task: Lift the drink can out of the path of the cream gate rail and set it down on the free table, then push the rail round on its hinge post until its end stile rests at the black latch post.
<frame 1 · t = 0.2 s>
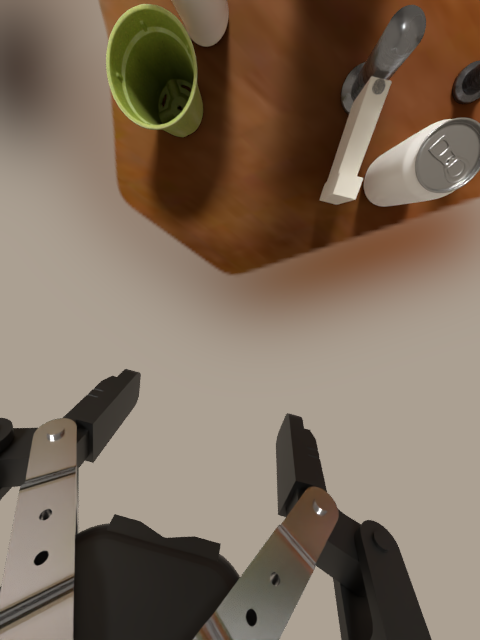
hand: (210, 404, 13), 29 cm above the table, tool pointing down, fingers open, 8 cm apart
plant pot: (180, 110, 32), on the table
gate: (353, 148, 27), point 6 cm above the table, hinge at 0.0°
latch post: (469, 84, 28), on the table
can: (387, 180, 32), on the table
white tapered cup: (207, 20, 28), on the table
hinge post: (362, 92, 29), on the table
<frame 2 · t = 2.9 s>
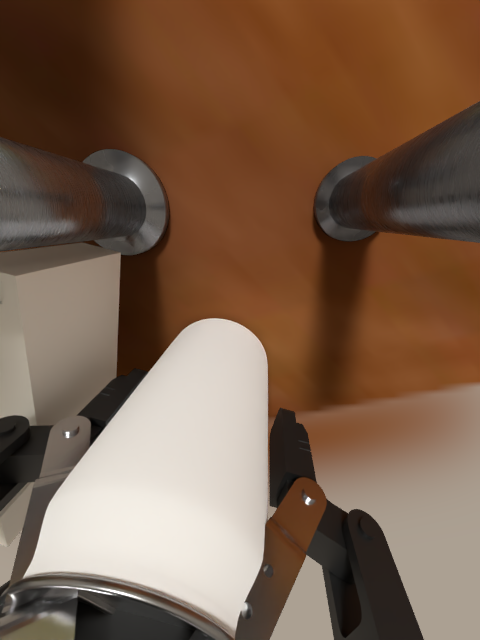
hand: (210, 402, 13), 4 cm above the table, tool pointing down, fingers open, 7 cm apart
gate: (47, 374, 11), point 6 cm above the table, hinge at -0.1°
latch post: (351, 202, 12), on the table
can: (220, 358, 16), on the table
hinge post: (124, 206, 13), on the table
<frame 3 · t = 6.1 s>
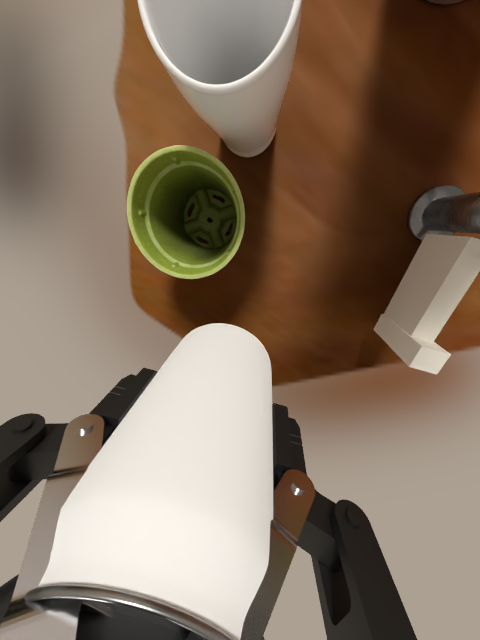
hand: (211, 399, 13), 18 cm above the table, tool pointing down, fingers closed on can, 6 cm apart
plant pot: (210, 219, 27), on the table
gate: (430, 299, 21), point 6 cm above the table, hinge at -0.1°
can: (223, 362, 17), point 14 cm above the table, touching gripper
white tapered cup: (248, 126, 23), on the table
hinge post: (435, 214, 24), on the table
when the fingers open (5 cm above the table, at t = 8.8 s): can drops 1 cm, on the table.
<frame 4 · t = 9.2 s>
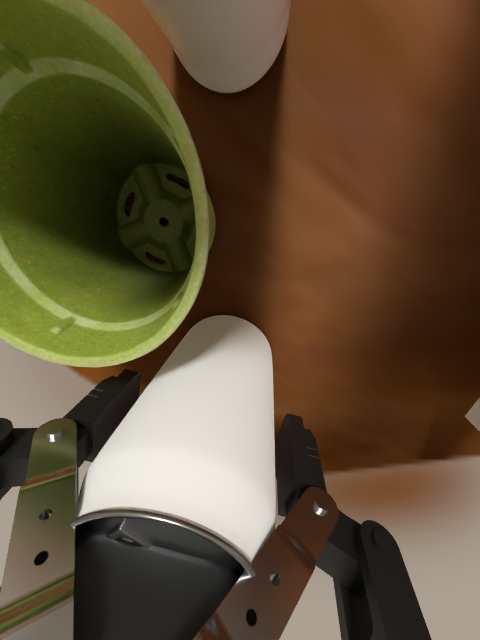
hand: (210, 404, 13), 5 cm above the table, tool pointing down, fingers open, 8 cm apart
plant pot: (166, 221, 15), on the table
can: (227, 352, 18), on the table
white tapered cup: (230, 28, 11), on the table
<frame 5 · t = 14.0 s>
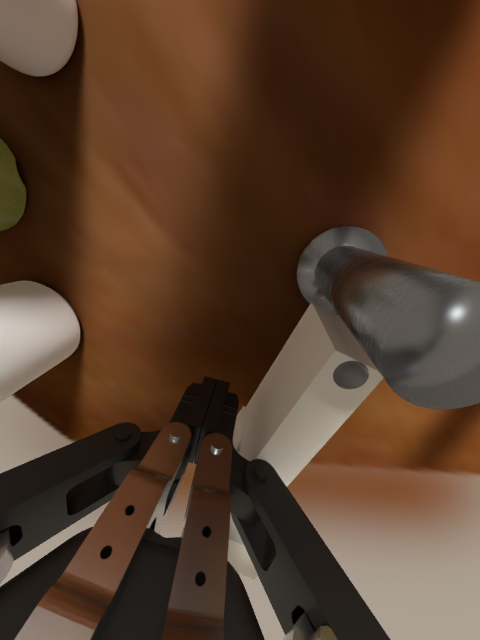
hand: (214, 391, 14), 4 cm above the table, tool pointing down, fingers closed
gate: (284, 423, 12), point 6 cm above the table, hinge at 3.7°, touching gripper
can: (46, 319, 19), on the table
white tapered cup: (37, 15, 12), on the table
hinge post: (338, 270, 14), on the table
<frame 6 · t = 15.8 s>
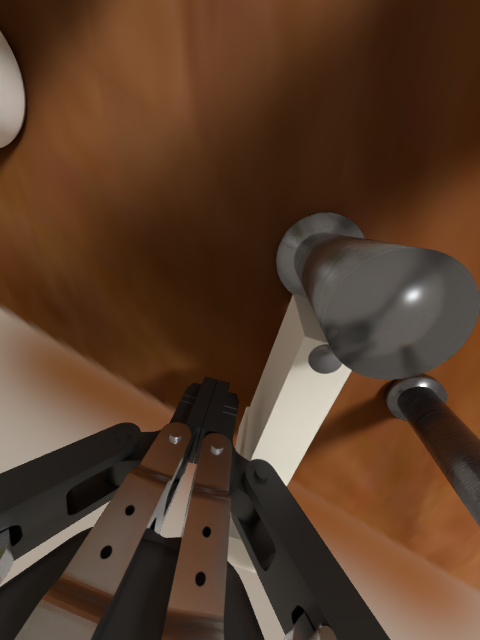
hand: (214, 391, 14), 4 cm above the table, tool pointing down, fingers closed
gate: (280, 417, 12), point 6 cm above the table, hinge at 49.7°, touching gripper
latch post: (412, 395, 17), on the table
hinge post: (318, 258, 14), on the table
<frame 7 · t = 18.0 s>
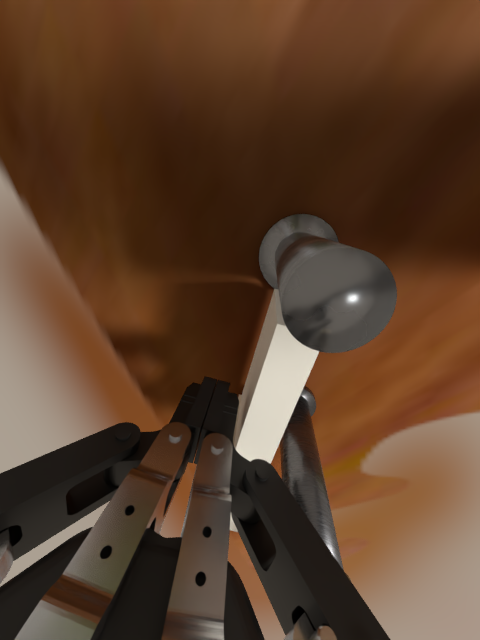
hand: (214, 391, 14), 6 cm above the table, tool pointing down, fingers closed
gate: (265, 399, 13), point 6 cm above the table, hinge at 87.4°
latch post: (292, 400, 20), on the table
hinge post: (297, 255, 16), on the table
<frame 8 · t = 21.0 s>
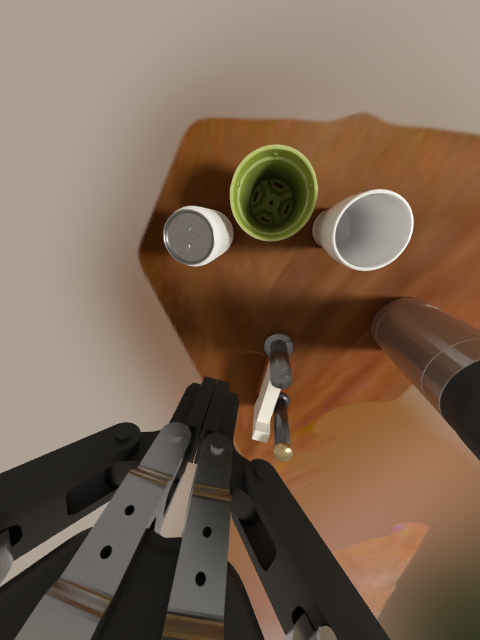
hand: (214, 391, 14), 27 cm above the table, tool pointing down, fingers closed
plant pot: (271, 202, 34), on the table
gate: (267, 399, 40), point 6 cm above the table, hinge at 87.4°
latch post: (279, 400, 47), on the table
can: (213, 233, 37), on the table
white tapered cup: (330, 228, 35), on the table
hinge post: (278, 345, 42), on the table
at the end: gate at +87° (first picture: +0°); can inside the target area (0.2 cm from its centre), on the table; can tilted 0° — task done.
